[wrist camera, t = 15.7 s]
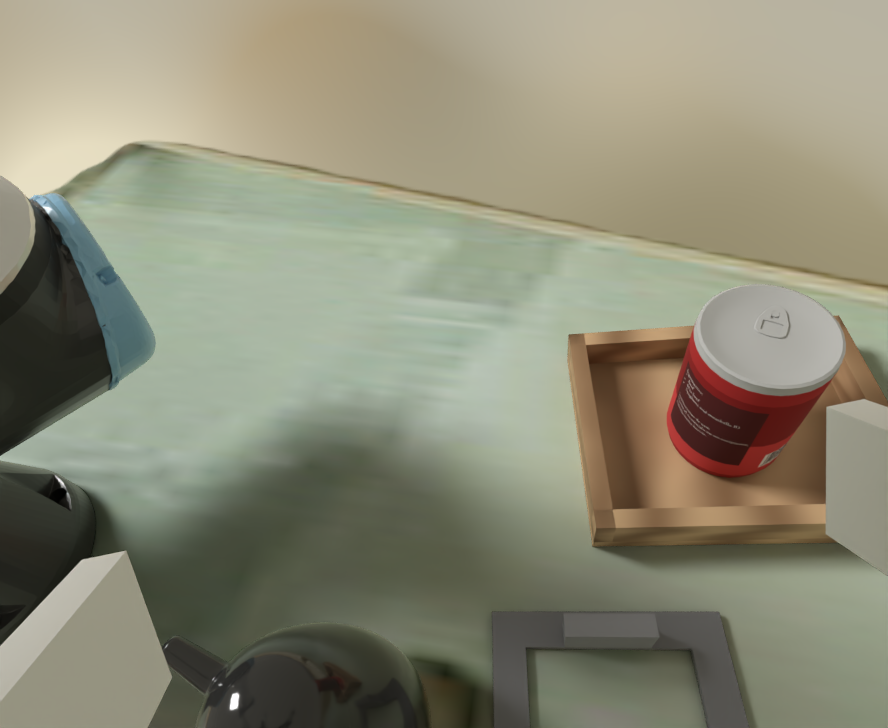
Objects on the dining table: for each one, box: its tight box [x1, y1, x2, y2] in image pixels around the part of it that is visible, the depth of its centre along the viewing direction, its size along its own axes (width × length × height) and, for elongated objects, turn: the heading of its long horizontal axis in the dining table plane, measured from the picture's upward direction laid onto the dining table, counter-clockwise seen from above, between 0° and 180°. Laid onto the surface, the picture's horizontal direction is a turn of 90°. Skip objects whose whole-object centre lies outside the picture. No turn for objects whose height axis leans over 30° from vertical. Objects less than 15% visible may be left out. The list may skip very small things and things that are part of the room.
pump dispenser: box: [162, 622, 431, 728], centre depth 25 cm, size 10×10×15 cm
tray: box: [567, 316, 888, 547], centre depth 38 cm, size 20×16×3 cm
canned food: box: [667, 284, 846, 478], centre depth 35 cm, size 8×8×11 cm
